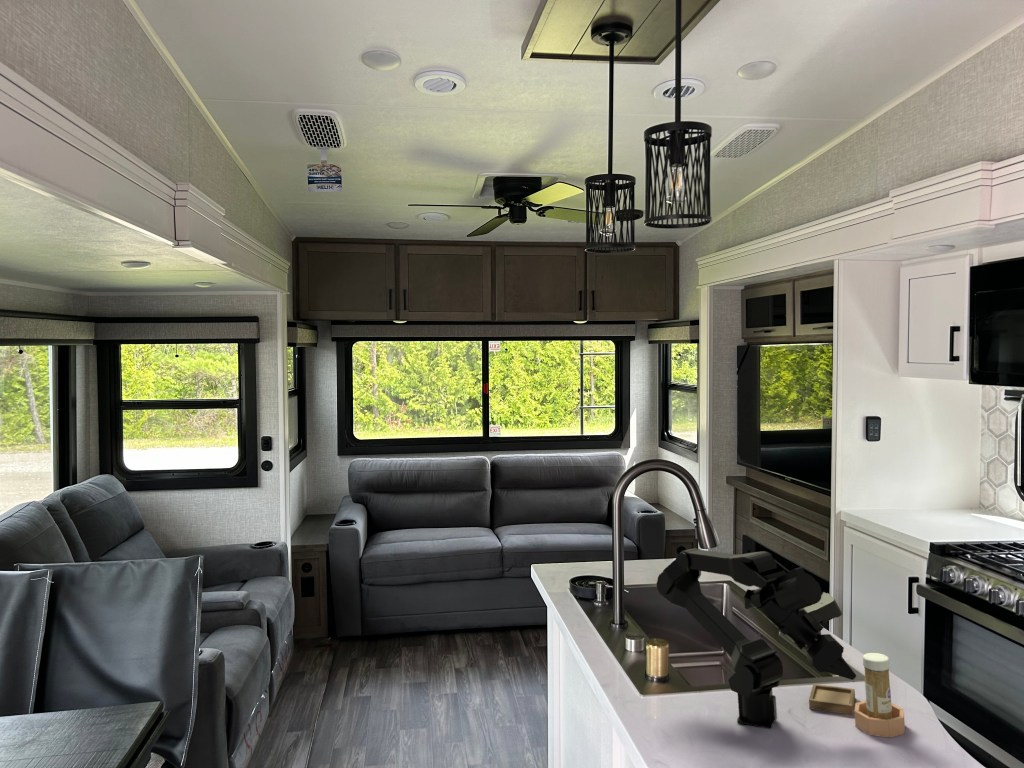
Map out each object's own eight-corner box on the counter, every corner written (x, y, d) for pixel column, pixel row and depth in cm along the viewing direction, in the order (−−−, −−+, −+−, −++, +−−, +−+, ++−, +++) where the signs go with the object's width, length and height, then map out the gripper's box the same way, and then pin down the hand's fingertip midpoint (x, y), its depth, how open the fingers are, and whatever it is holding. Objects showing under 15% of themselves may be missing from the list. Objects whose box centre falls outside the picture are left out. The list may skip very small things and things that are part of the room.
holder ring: (854, 732, 141) (853, 716, 141) (857, 712, 149) (856, 697, 149) (904, 739, 137) (903, 723, 137) (904, 719, 145) (903, 704, 145)
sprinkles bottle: (892, 733, 140) (888, 662, 140) (865, 729, 142) (861, 659, 142) (893, 722, 144) (889, 653, 144) (867, 718, 146) (863, 650, 146)
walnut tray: (809, 708, 152) (808, 699, 152) (813, 692, 159) (813, 683, 159) (852, 714, 148) (852, 705, 148) (855, 697, 155) (854, 689, 155)
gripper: (828, 597, 133) (896, 656, 133) (797, 568, 152) (856, 619, 151) (786, 643, 134) (852, 701, 134) (760, 608, 153) (818, 659, 152)
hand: (845, 667), depth 143 cm, fingers open, 9 cm apart
